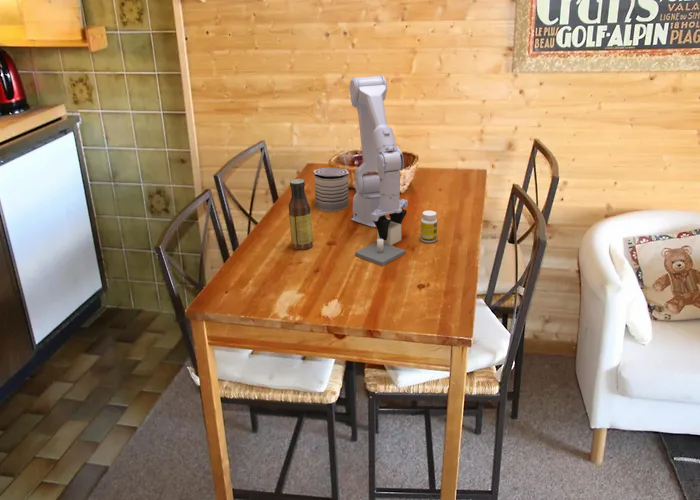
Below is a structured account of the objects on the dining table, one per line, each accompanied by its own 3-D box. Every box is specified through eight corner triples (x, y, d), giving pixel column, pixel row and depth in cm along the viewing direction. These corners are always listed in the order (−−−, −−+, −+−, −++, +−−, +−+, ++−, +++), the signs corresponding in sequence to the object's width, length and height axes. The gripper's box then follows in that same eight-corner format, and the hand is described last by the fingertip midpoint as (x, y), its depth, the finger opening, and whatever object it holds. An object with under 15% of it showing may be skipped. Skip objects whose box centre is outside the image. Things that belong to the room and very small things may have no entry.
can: (307, 207, 232) (306, 172, 227) (327, 196, 241) (326, 162, 236) (337, 214, 227) (336, 178, 222) (355, 202, 236) (355, 168, 230)
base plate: (355, 255, 199) (354, 241, 197) (377, 244, 206) (377, 229, 204) (382, 265, 193) (382, 250, 191) (405, 253, 200) (405, 239, 198)
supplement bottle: (435, 243, 206) (436, 216, 202) (419, 242, 207) (420, 215, 203) (437, 236, 210) (438, 210, 206) (421, 235, 211) (422, 209, 207)
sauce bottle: (317, 243, 207) (314, 179, 198) (306, 252, 202) (303, 186, 193) (297, 240, 209) (293, 176, 201) (286, 248, 204) (282, 183, 196)
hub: (377, 240, 208) (377, 225, 206) (387, 235, 211) (387, 220, 209) (390, 245, 205) (390, 229, 203) (401, 240, 208) (401, 224, 206)
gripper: (384, 203, 194) (384, 247, 200) (416, 188, 204) (415, 231, 210) (364, 197, 198) (365, 241, 204) (396, 183, 208) (396, 225, 214)
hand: (389, 236), depth 207 cm, fingers closed on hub, 5 cm apart
